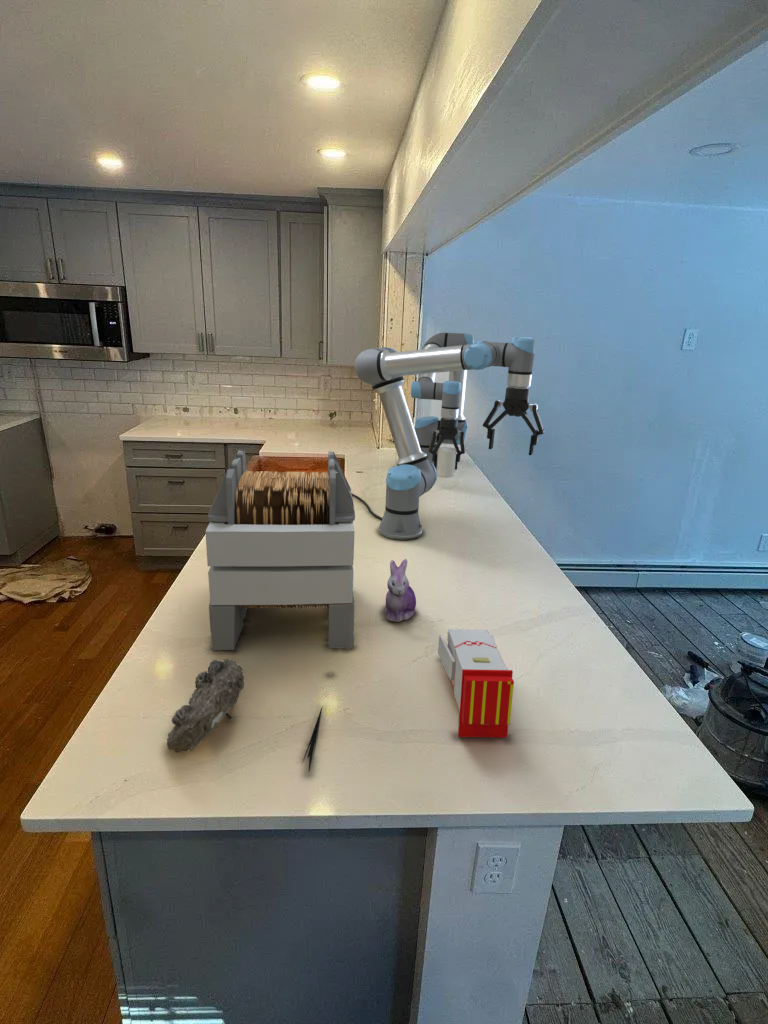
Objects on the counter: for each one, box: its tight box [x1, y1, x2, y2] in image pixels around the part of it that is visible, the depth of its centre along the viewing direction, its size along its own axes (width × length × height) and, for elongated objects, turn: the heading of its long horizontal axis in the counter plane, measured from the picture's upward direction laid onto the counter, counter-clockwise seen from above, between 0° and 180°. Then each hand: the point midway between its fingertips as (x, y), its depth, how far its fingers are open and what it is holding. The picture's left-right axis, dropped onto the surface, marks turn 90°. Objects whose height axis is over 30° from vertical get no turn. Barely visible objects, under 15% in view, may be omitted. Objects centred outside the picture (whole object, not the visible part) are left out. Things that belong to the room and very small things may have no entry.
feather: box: [301, 673, 332, 771], centre depth 108 cm, size 2×28×2 cm
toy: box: [437, 628, 515, 738], centre depth 117 cm, size 12×13×30 cm
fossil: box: [166, 658, 245, 754], centre depth 106 cm, size 22×10×15 cm
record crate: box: [204, 449, 356, 652], centre depth 138 cm, size 34×33×41 cm
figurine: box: [384, 558, 417, 623], centre depth 145 cm, size 9×10×15 cm
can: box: [436, 446, 457, 479], centre depth 251 cm, size 8×8×12 cm
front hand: (510, 451), depth 190 cm, fingers open, 13 cm apart
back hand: (445, 468), depth 252 cm, fingers closed on can, 9 cm apart
